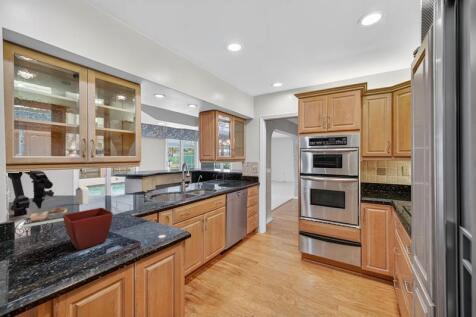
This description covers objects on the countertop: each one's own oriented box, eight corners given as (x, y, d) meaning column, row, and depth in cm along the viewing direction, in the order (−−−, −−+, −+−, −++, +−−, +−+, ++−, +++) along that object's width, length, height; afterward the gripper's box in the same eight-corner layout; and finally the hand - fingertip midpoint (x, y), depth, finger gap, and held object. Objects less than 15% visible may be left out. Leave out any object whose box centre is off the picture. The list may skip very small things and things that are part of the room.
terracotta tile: (30, 222, 146) (30, 220, 146) (32, 219, 153) (32, 216, 153) (45, 220, 151) (45, 217, 151) (46, 216, 158) (46, 214, 158)
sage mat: (21, 228, 137) (21, 227, 137) (25, 219, 153) (25, 219, 153) (71, 219, 154) (71, 218, 154) (70, 212, 170) (70, 212, 170)
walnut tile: (50, 214, 162) (50, 211, 162) (51, 211, 169) (51, 208, 169) (64, 212, 167) (63, 209, 167) (63, 209, 175) (63, 207, 174)
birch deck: (29, 220, 152) (29, 218, 152) (31, 215, 163) (31, 213, 163) (67, 213, 167) (67, 212, 167) (66, 210, 177) (66, 208, 177)
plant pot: (102, 233, 128) (102, 206, 127) (114, 241, 116) (113, 212, 115) (63, 244, 113) (62, 214, 112) (72, 255, 101) (70, 222, 100)
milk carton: (89, 203, 198) (88, 184, 197) (82, 205, 191) (82, 185, 190) (82, 203, 199) (81, 184, 198) (76, 205, 192) (75, 185, 191)
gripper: (52, 188, 152) (53, 209, 153) (53, 185, 166) (54, 204, 167) (31, 190, 145) (32, 212, 145) (34, 187, 159) (35, 206, 159)
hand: (39, 208), depth 154 cm, fingers closed
